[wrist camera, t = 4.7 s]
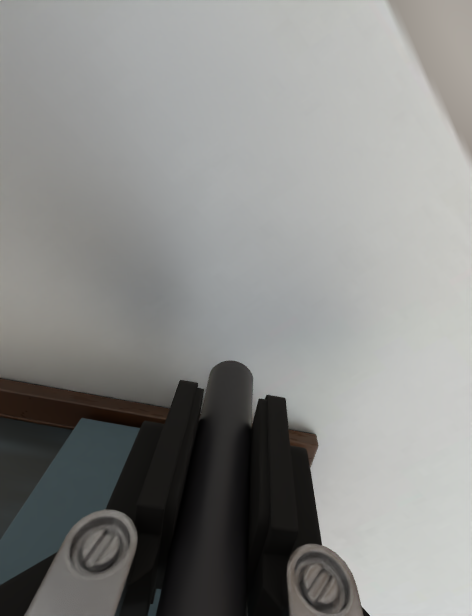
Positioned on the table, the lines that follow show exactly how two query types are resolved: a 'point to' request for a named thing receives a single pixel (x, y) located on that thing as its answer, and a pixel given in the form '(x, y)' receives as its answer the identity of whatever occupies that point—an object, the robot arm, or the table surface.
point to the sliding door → (193, 510)
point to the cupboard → (62, 433)
